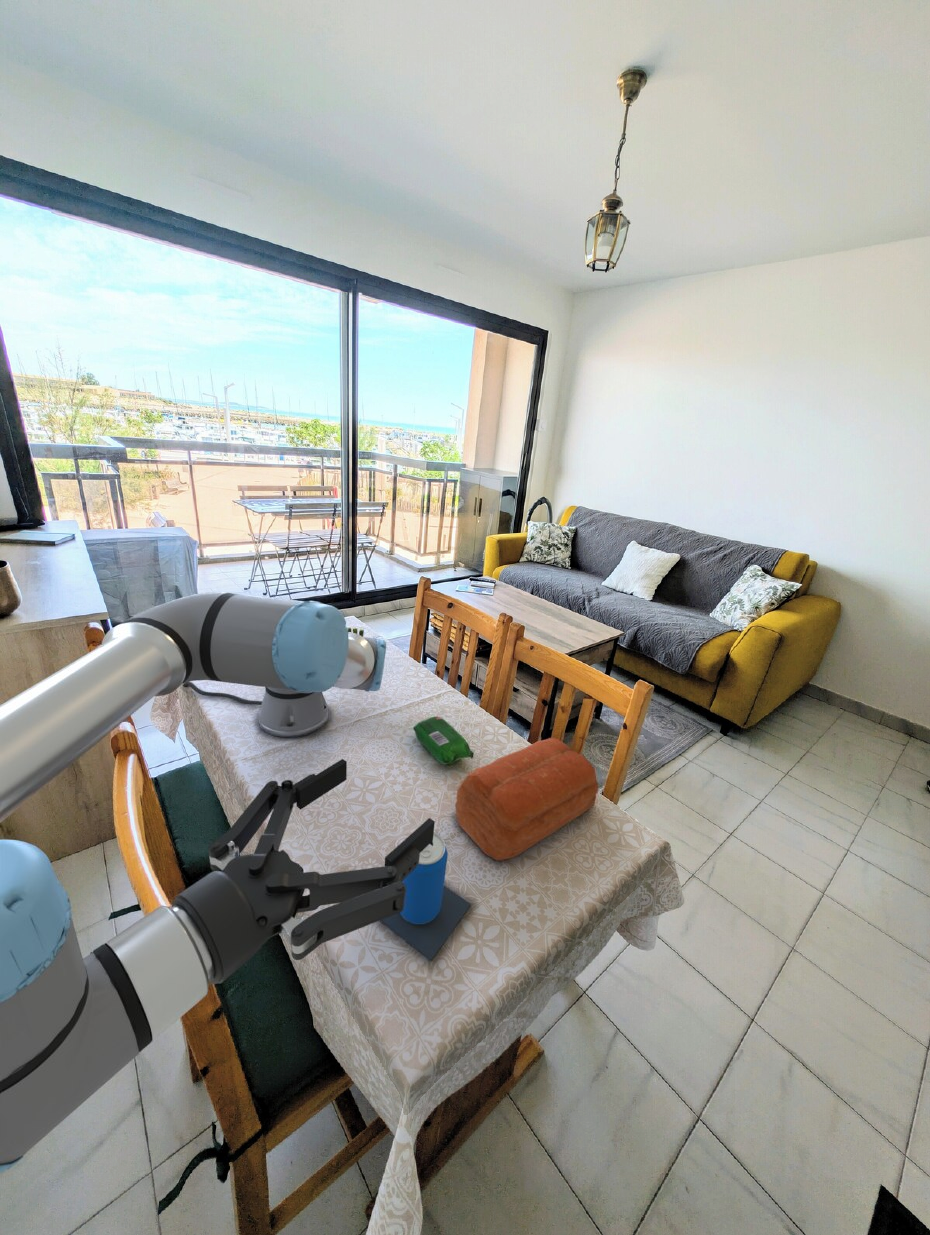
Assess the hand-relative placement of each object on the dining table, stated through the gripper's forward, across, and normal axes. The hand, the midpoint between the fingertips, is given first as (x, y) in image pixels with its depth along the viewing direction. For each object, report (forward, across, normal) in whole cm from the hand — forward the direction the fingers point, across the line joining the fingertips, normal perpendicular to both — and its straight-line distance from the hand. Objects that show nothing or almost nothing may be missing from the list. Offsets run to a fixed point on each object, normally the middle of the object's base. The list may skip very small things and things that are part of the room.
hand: (385, 797), depth 53 cm
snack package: (+40, -21, -27) cm, 52 cm away
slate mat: (+9, 0, -27) cm, 28 cm away
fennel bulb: (+51, -63, -28) cm, 86 cm away
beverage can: (+8, 0, -27) cm, 28 cm away
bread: (+37, +3, -27) cm, 46 cm away
